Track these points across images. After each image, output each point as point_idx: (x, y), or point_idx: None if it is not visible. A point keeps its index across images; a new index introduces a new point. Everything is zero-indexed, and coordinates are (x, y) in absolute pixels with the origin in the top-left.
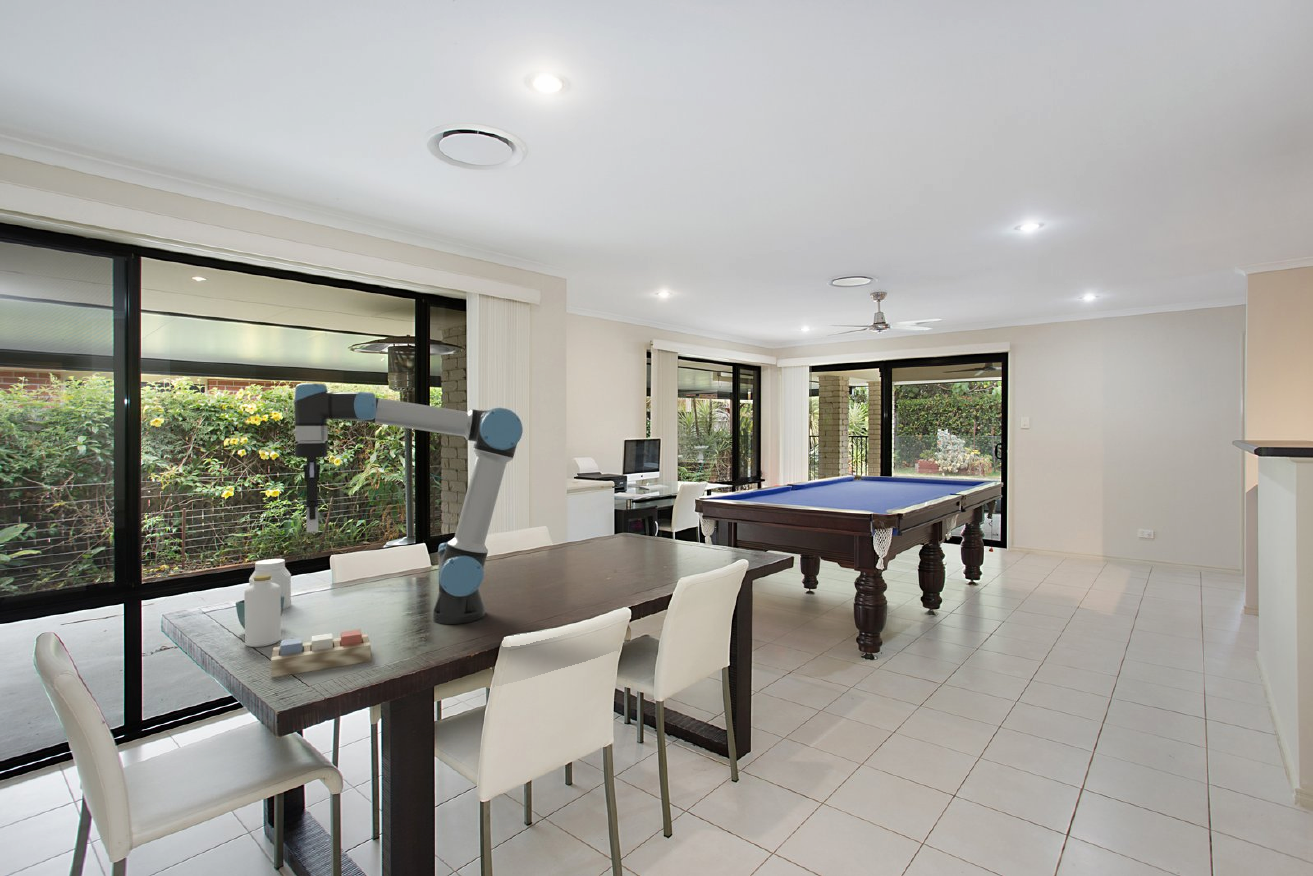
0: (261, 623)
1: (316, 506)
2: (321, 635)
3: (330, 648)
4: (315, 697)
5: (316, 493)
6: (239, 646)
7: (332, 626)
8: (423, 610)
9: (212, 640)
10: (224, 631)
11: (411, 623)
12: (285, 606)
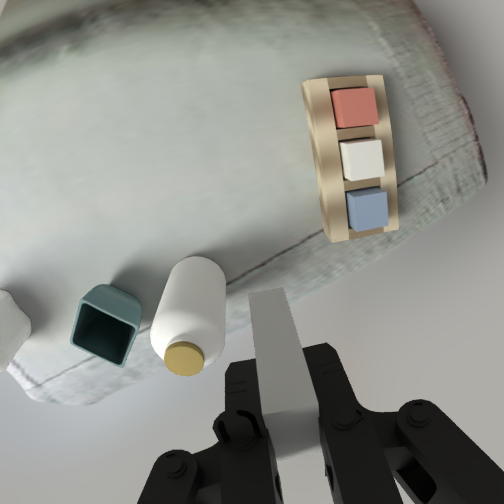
0: (225, 297)
1: (356, 408)
2: (355, 162)
3: None
4: (469, 152)
5: (498, 474)
6: None
7: (118, 181)
8: (62, 26)
9: None
10: None
11: (147, 23)
12: (8, 295)
